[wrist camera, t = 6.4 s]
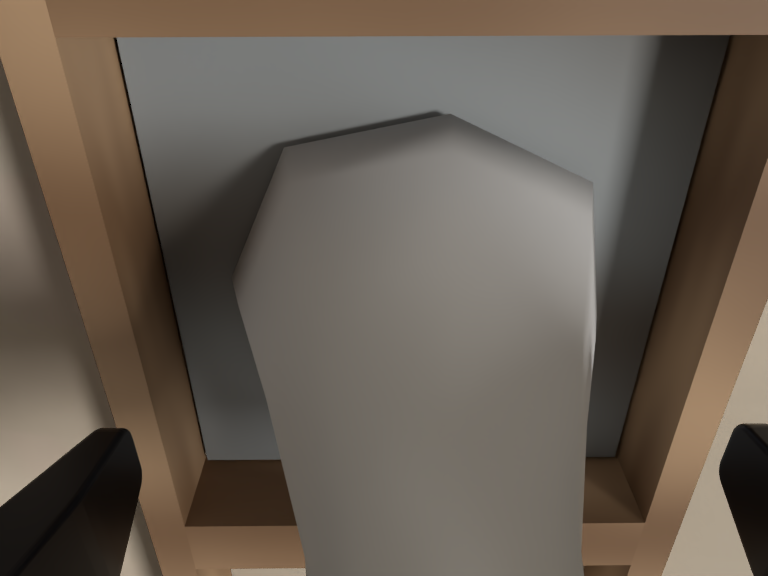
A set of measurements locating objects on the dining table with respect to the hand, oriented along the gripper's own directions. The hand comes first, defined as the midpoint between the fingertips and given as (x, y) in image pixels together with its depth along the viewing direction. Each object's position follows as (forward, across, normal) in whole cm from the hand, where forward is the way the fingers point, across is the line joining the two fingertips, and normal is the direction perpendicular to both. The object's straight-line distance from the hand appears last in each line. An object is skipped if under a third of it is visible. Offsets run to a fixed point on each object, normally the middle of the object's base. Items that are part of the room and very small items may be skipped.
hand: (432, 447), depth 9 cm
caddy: (+4, 0, +6) cm, 7 cm away
